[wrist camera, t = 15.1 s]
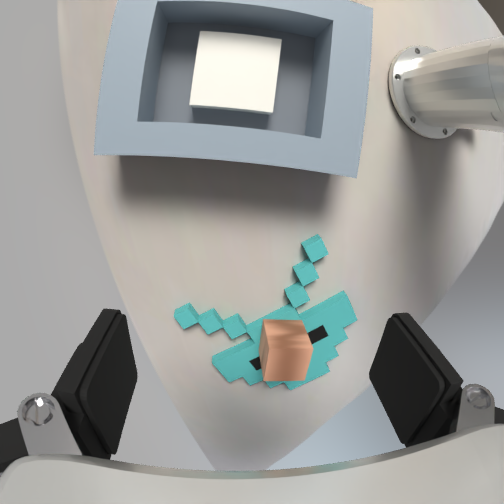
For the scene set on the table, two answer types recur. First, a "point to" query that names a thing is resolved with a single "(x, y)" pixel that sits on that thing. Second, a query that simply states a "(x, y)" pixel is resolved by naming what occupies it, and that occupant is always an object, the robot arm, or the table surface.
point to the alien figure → (314, 319)
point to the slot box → (238, 82)
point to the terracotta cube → (284, 350)
